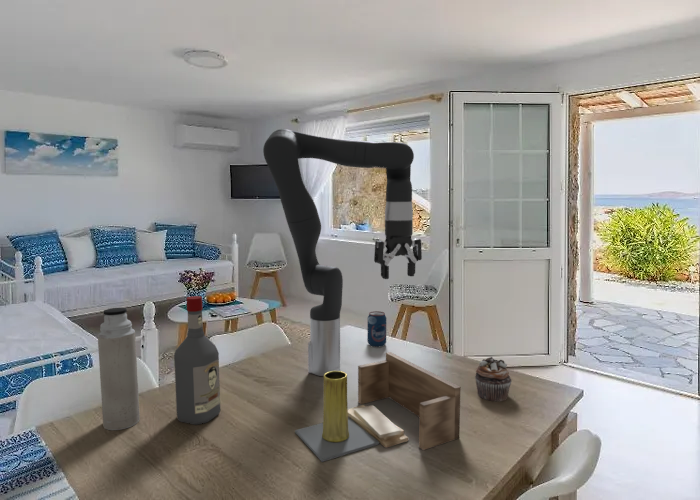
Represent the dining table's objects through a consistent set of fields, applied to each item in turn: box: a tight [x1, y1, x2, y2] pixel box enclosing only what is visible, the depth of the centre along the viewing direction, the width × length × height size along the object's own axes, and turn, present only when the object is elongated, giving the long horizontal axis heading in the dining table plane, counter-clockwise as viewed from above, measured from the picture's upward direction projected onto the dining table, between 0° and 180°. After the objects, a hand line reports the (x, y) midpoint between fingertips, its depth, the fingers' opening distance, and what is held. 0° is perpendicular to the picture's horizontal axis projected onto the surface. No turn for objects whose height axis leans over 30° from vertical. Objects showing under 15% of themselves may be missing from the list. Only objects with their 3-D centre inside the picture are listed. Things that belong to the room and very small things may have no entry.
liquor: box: [173, 295, 221, 426], centre depth 116 cm, size 9×9×30 cm
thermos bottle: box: [97, 307, 141, 431], centre depth 112 cm, size 8×8×28 cm
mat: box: [294, 417, 380, 463], centre depth 106 cm, size 14×14×1 cm
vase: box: [322, 370, 349, 442], centre depth 105 cm, size 6×6×14 cm
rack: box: [348, 351, 462, 451], centre depth 113 cm, size 17×28×12 cm, turn 30°
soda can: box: [366, 310, 387, 348], centre depth 173 cm, size 7×7×12 cm
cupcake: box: [474, 356, 513, 402], centre depth 129 cm, size 10×10×10 cm
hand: (398, 277), depth 130 cm, fingers open, 8 cm apart
